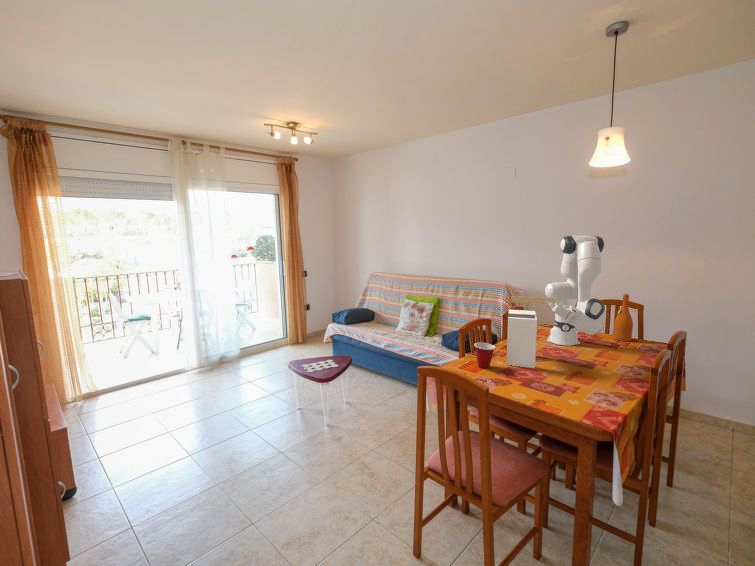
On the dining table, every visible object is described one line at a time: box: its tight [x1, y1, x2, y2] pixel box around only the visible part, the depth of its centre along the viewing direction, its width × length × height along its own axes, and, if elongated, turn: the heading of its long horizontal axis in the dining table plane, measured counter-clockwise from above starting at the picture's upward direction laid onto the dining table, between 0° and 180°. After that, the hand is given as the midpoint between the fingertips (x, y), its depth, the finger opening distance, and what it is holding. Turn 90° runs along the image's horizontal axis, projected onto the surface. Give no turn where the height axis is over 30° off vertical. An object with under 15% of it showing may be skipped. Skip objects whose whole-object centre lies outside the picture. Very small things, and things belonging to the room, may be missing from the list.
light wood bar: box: [510, 295, 556, 305], centre depth 192 cm, size 3×22×3 cm, turn 69°
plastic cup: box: [473, 342, 496, 370], centre depth 189 cm, size 11×11×12 cm
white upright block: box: [505, 309, 538, 369], centre depth 197 cm, size 21×14×26 cm, turn 159°
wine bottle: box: [613, 293, 634, 342], centre depth 229 cm, size 10×10×30 cm
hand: (544, 299), depth 190 cm, fingers closed on light wood bar, 3 cm apart
